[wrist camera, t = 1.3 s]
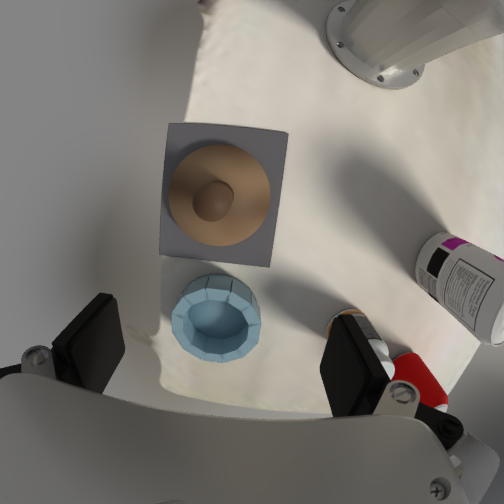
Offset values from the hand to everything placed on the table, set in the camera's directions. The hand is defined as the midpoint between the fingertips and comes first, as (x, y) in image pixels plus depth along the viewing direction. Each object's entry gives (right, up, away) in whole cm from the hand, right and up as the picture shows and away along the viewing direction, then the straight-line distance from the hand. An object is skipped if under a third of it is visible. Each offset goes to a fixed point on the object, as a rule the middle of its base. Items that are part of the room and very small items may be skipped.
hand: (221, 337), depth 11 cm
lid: (-2, +9, +16) cm, 18 cm away
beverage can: (+24, -14, +24) cm, 37 cm away
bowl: (-3, -3, +20) cm, 21 cm away
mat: (-2, +9, +16) cm, 19 cm away
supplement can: (+25, +2, +19) cm, 32 cm away
